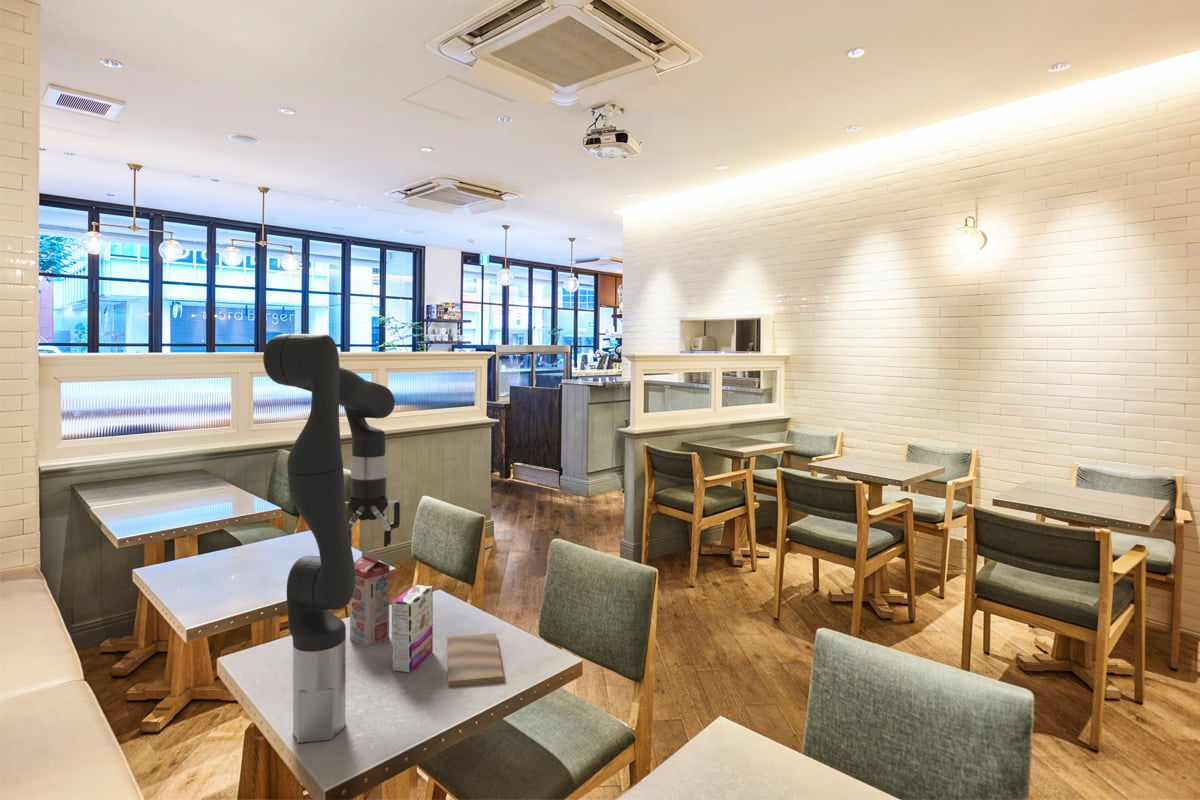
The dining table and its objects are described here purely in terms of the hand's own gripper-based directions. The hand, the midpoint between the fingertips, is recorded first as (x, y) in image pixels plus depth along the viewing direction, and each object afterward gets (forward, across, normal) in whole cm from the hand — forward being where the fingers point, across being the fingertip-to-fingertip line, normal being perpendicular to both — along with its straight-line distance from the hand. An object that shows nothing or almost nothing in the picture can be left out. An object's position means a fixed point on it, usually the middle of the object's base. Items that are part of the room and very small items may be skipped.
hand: (368, 546), depth 145 cm
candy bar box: (+28, +10, 0) cm, 30 cm away
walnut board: (+28, +24, -2) cm, 37 cm away
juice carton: (+28, -1, +14) cm, 31 cm away
